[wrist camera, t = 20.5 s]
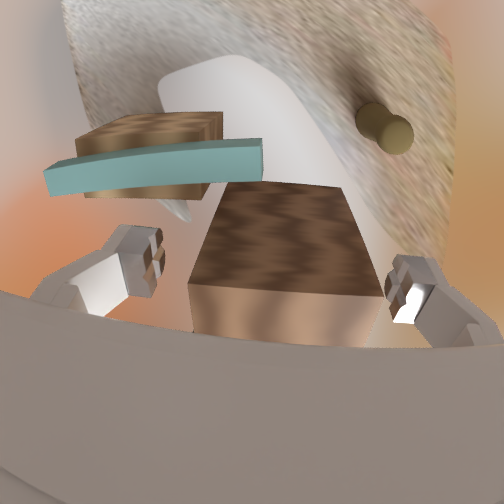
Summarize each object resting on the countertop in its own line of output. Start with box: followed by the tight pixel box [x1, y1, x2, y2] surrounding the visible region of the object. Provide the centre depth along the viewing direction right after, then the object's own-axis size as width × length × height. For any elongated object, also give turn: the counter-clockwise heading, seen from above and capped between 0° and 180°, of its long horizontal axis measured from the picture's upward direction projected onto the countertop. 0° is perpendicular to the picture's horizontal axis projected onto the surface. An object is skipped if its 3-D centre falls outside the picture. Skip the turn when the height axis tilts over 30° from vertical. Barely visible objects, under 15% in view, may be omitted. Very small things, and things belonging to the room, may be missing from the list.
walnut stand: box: [188, 181, 384, 347], centre depth 41 cm, size 18×12×26 cm, turn 88°
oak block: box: [75, 112, 223, 200], centre depth 39 cm, size 16×8×15 cm, turn 88°
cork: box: [356, 102, 414, 155], centre depth 37 cm, size 6×6×11 cm
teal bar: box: [43, 138, 263, 196], centre depth 31 cm, size 26×4×4 cm, turn 93°
